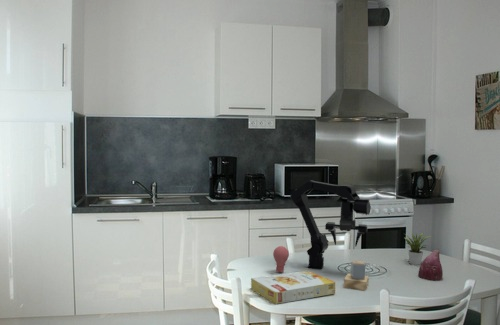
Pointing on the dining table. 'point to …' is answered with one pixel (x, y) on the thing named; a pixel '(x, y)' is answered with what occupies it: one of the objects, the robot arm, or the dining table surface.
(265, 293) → the cereal box
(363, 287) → the block
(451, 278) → the dining table surface
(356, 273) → the grey box
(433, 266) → the vegetable
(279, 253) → the light bulb
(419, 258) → the house plant
